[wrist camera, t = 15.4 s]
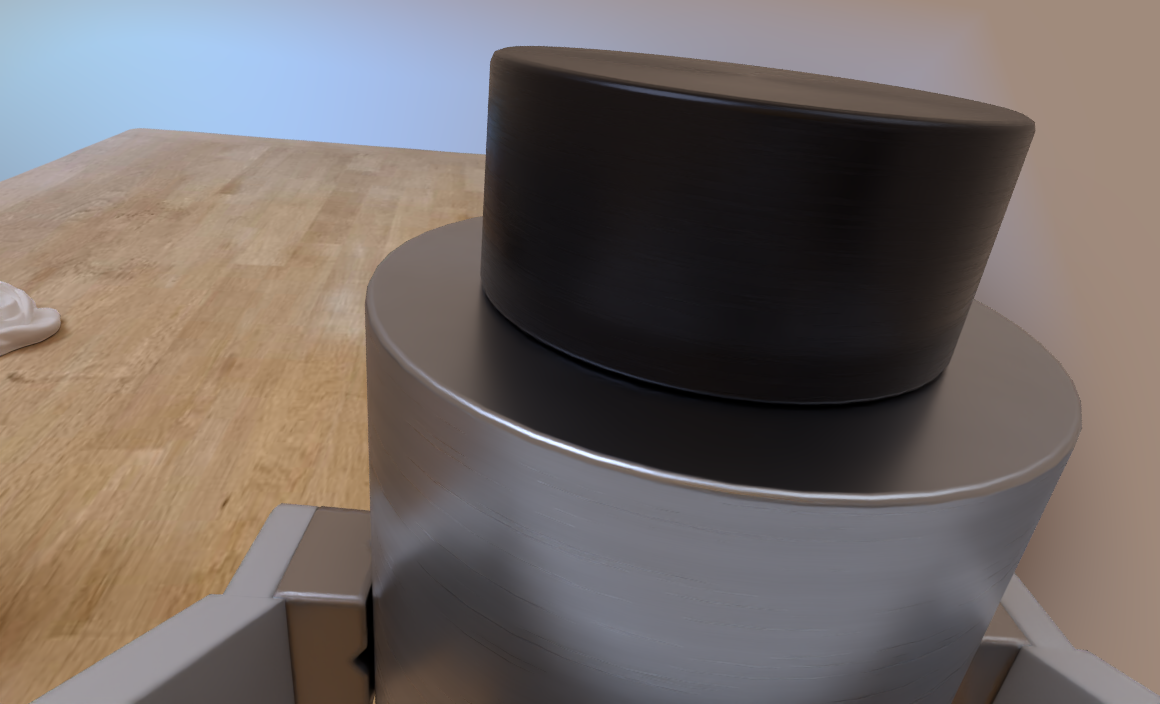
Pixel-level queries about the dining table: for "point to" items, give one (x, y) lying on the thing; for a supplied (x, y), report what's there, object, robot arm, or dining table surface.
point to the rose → (23, 319)
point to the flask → (705, 396)
